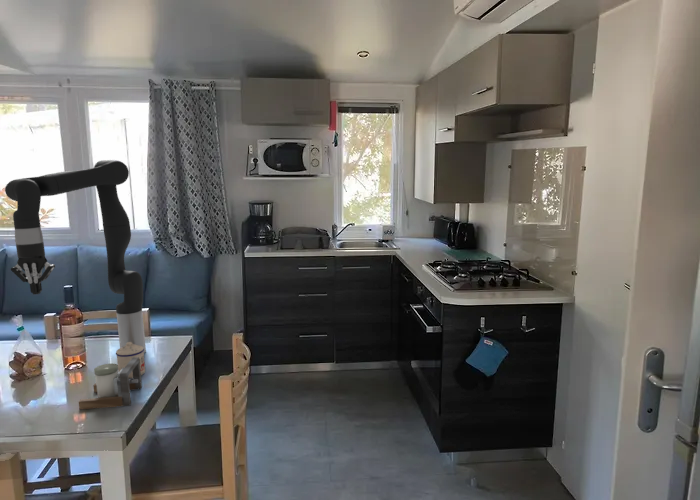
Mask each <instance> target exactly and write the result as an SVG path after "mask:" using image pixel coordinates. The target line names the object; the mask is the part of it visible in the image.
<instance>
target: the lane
mask: <svg viewBox="0 0 700 500" xmlns="http://www.w3.org/2000/svg"><path fill="white" fill-rule="evenodd" d="M132 371H133V378H132V379H138V383H130V384H129V380H130V379H129V374H130V373H131V372H132ZM120 383H121V393H122V396H120V397H106V398H98V397H96V398H83V399H82V398H81V399H80V400H79V401H78V407H79V410H88V409H89V410H90V409H102V408H114V407H115V408H117V406H118V407H129V406H131V404H132V400H131V399H132V397H131V391H133V390H134V391H136V390H141V389H142V388H143V384H142V375H141V372H140V361H139V357H134V358H132V359H131V360H130V361H129V363H128V364H127V365H126V366H125V368H124V369H123V370H122V371H121V372H120ZM92 387H93V393H97V386H96V382H94V384H93V386H92Z"/></svg>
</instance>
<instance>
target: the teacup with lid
mask: <svg viewBox="0 0 700 500" xmlns="http://www.w3.org/2000/svg"><path fill="white" fill-rule="evenodd" d="M144 354H145V353H144V348H143V347H142V346H140V345H135V344H132V342H127V343H126V345H125V346H124V347H122V348H120V347H119V348H118V349H117V350H116V352H115V355H116V362H117V363H116V364H117V365H118V373H119V371H120V370H121V369H122V368H125V366H126V365H127V364H128V363H129V361H130V360H131V359H132V358H134V357H139V361H140V372H141V376H143V375H144V374H145V373H146V364H145V355H144ZM131 379H133V371H132V372H131V373H130V374H129V380H131Z"/></svg>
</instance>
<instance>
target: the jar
mask: <svg viewBox="0 0 700 500" xmlns="http://www.w3.org/2000/svg"><path fill="white" fill-rule="evenodd" d="M93 372H94V375H95V376H94V377H95V383H96V386H97V392H96V393H97V398H106V397H115V392H114V382H113V379H114V377H115V376H116V375H117V374H118V373H119V372H118V363H104V364H101V365H98V366H96V367H94V370H93Z"/></svg>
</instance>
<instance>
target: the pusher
mask: <svg viewBox="0 0 700 500" xmlns="http://www.w3.org/2000/svg"><path fill="white" fill-rule="evenodd" d="M123 369H124V368H122V369H121V370H120V371H119V372H118V374H117V375H116V376H115V377H114V379H113V382H114V392H115V397H120V396H122V393H121V383H120V372H121V371H122V370H123ZM130 383H138V379H133V378H131V379H129V384H130Z"/></svg>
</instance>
